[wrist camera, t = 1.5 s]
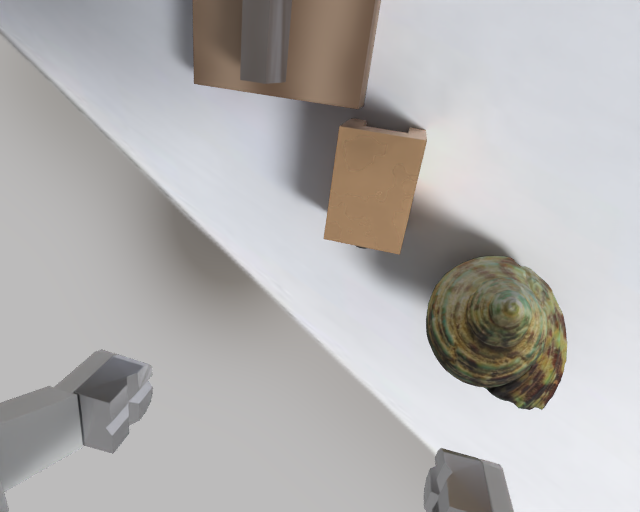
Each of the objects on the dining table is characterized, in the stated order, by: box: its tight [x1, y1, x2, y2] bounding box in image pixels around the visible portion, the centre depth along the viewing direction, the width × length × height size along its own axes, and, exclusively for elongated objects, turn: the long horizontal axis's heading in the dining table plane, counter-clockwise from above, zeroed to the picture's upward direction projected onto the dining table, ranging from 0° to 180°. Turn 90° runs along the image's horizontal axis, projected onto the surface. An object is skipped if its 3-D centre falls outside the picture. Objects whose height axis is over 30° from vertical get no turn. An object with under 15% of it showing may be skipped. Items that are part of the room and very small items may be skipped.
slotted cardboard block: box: [324, 118, 427, 255], centre depth 29 cm, size 6×8×5 cm
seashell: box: [426, 256, 567, 410], centre depth 29 cm, size 11×11×10 cm
